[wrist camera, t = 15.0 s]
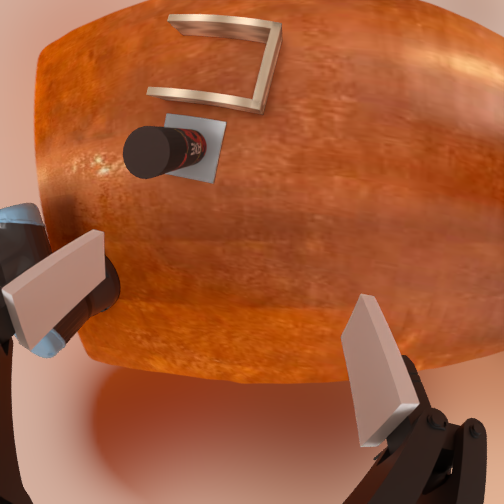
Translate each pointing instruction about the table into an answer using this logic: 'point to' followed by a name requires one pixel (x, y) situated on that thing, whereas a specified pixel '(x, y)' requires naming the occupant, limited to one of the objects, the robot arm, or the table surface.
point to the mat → (214, 139)
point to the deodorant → (162, 150)
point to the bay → (236, 30)
